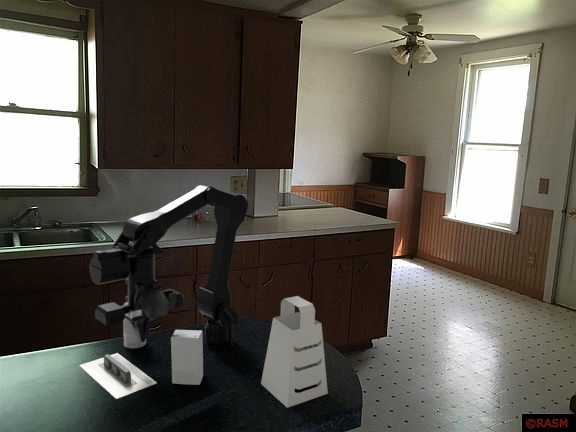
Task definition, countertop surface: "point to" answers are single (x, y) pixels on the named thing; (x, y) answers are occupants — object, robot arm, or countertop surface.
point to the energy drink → (130, 335)
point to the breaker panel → (117, 377)
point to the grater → (295, 354)
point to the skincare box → (187, 357)
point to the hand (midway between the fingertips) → (142, 341)
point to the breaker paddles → (117, 368)
